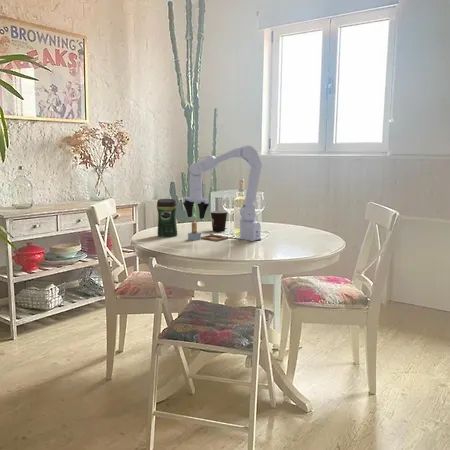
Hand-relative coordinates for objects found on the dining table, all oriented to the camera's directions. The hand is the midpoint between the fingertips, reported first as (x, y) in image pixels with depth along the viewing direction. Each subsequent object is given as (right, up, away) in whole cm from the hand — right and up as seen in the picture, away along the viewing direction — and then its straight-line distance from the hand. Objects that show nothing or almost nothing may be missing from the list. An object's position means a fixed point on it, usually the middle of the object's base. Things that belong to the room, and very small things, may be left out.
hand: (195, 217), depth 227 cm
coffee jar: (-15, -9, +10) cm, 20 cm away
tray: (+9, -10, +1) cm, 14 cm away
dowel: (-1, -10, 0) cm, 10 cm away
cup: (-1, -11, 0) cm, 11 cm away
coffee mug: (+11, -6, +28) cm, 30 cm away
